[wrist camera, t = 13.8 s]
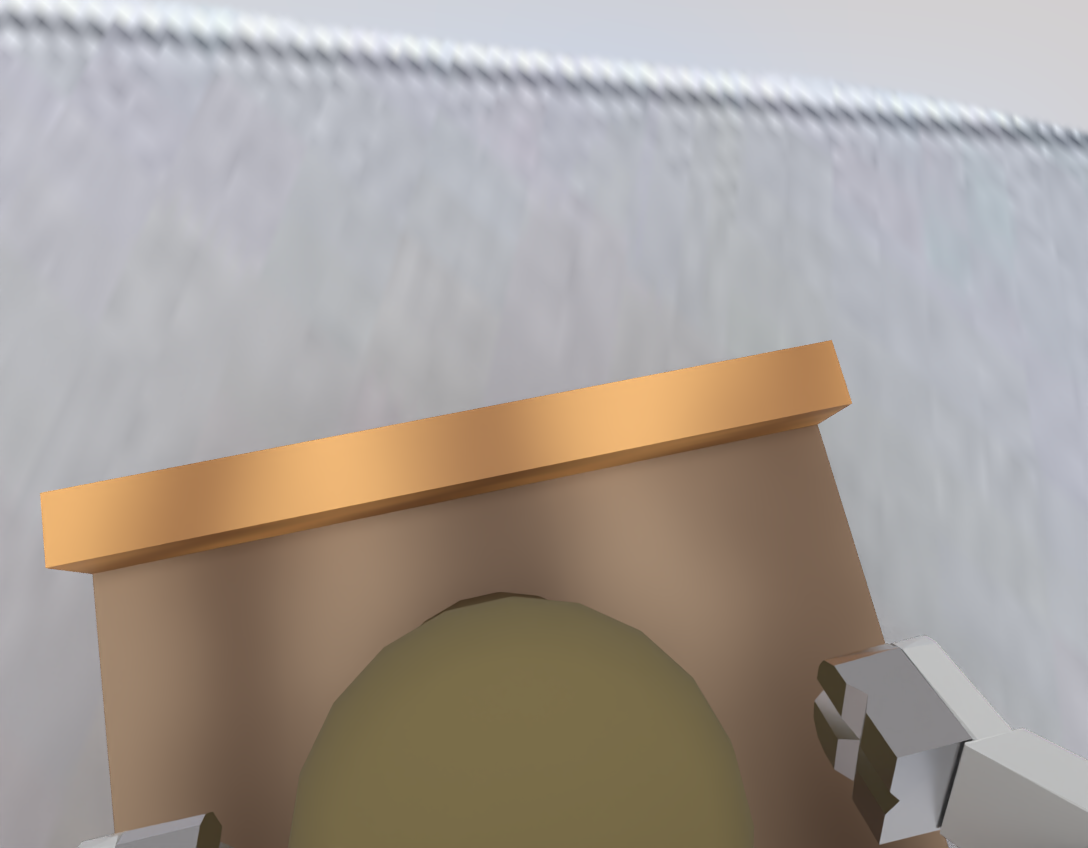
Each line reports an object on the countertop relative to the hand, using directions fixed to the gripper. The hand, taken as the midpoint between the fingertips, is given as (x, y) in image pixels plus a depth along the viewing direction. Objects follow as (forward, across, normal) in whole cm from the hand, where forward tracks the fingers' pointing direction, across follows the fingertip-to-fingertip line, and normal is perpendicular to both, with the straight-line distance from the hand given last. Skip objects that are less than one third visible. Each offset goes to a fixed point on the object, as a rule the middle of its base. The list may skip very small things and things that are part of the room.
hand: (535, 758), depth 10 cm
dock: (+7, 0, +8) cm, 11 cm away
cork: (+5, 0, +6) cm, 8 cm away
